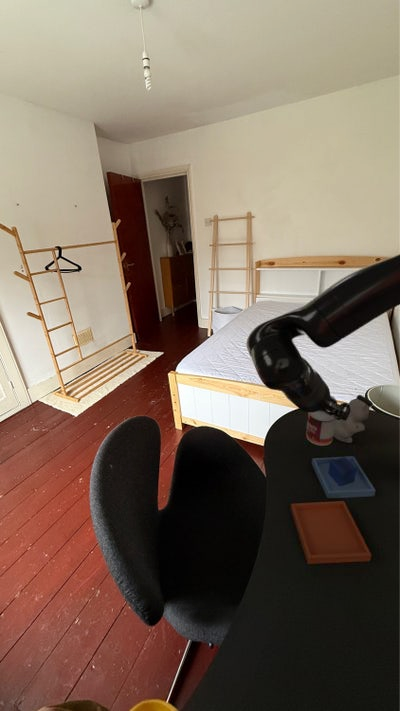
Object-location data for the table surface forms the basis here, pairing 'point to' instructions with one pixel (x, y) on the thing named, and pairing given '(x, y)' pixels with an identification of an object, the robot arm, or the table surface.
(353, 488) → the blue tray
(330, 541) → the terracotta tray
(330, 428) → the pill bottle
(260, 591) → the table surface
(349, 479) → the blue block
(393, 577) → the table surface
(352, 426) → the figurine
